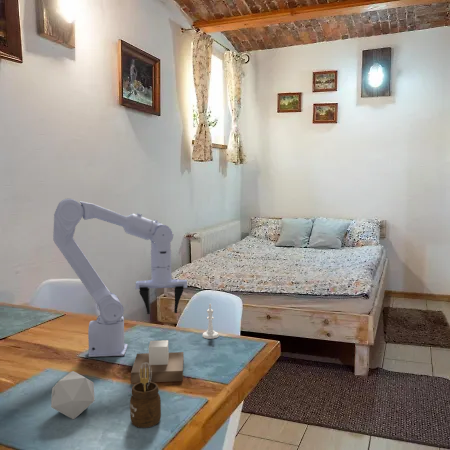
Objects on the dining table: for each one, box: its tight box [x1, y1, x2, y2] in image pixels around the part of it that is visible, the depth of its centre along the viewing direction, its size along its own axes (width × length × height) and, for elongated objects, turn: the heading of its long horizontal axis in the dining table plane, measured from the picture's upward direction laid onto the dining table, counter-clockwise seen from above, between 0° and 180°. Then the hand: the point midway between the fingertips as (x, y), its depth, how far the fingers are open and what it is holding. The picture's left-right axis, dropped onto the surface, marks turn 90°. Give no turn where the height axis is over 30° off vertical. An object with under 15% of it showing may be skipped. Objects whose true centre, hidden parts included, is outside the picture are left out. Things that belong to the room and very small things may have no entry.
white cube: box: [148, 339, 170, 365], centre depth 114 cm, size 4×4×4 cm
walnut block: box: [130, 351, 185, 384], centre depth 114 cm, size 12×12×3 cm
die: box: [50, 370, 96, 421], centre depth 94 cm, size 8×9×10 cm
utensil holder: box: [129, 363, 162, 429], centre depth 90 cm, size 6×6×12 cm
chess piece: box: [202, 303, 220, 340], centre depth 139 cm, size 5×5×10 cm
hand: (162, 312), depth 132 cm, fingers open, 7 cm apart
